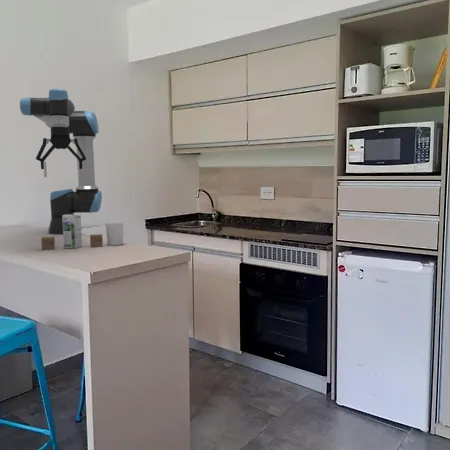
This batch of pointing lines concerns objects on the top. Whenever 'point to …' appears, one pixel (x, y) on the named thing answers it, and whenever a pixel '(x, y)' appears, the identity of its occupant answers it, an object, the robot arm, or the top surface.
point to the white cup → (114, 233)
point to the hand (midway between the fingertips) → (62, 177)
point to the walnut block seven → (48, 243)
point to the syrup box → (72, 231)
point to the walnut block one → (96, 240)
